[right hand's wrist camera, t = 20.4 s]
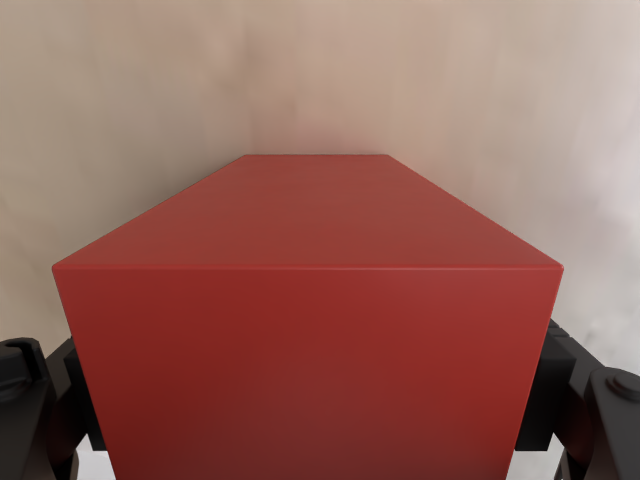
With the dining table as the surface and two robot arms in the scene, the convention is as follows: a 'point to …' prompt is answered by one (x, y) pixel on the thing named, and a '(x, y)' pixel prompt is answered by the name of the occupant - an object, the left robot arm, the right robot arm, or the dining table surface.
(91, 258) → the block
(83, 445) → the figurine
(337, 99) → the dining table surface
